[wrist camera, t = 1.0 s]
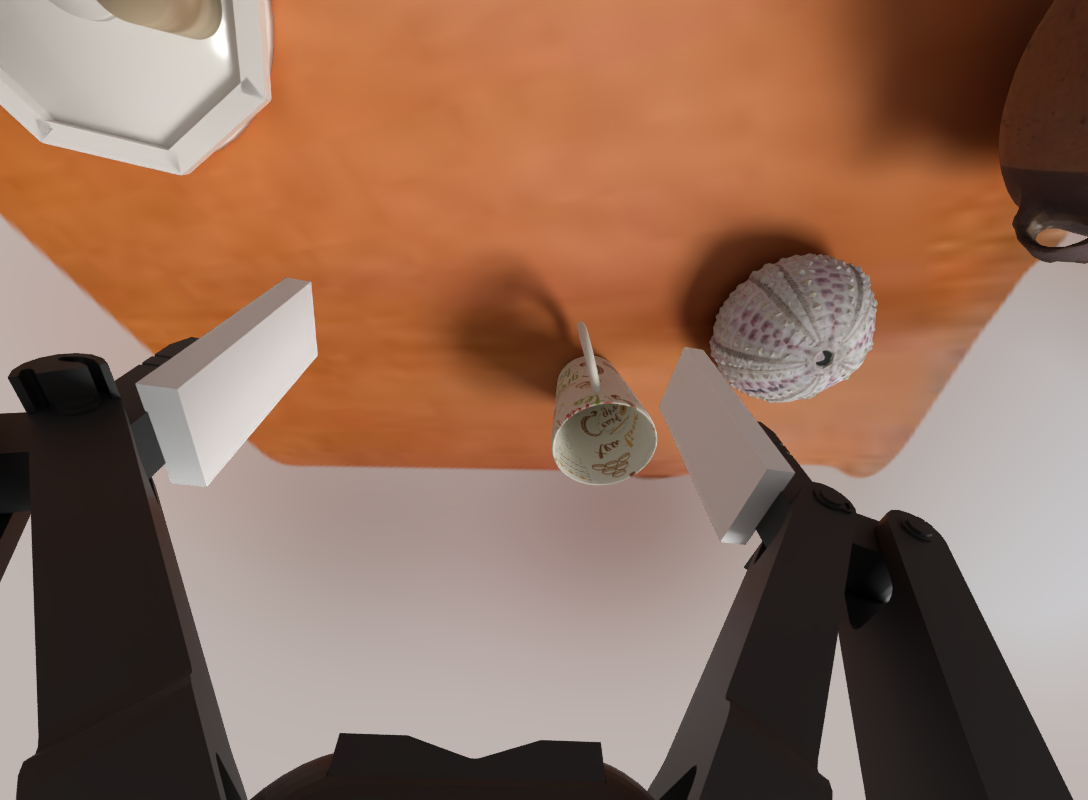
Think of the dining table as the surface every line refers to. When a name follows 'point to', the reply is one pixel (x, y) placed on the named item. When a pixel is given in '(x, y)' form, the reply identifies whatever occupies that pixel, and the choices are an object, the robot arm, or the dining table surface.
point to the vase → (1050, 133)
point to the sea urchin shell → (795, 328)
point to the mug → (599, 422)
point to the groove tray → (133, 80)
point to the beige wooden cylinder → (170, 15)
